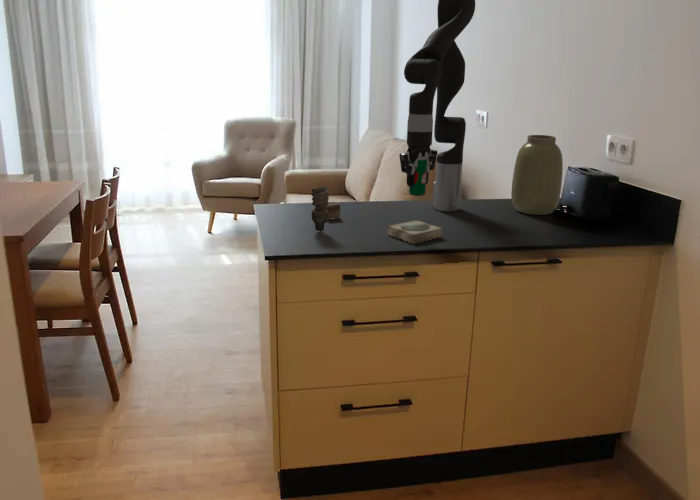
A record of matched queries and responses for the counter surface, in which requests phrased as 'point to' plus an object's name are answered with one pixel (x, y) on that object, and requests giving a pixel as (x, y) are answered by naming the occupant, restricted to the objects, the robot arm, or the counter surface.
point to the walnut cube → (333, 210)
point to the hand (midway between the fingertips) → (417, 185)
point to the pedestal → (414, 231)
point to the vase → (537, 176)
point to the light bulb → (320, 207)
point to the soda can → (419, 178)
